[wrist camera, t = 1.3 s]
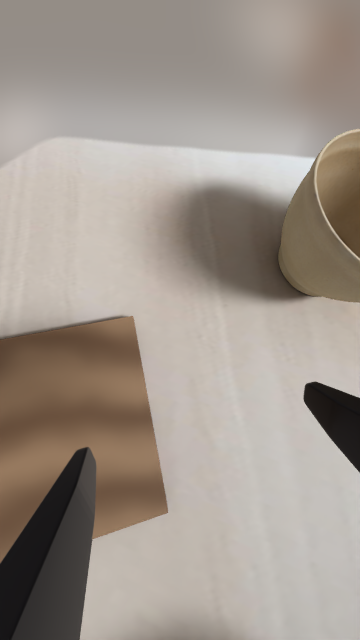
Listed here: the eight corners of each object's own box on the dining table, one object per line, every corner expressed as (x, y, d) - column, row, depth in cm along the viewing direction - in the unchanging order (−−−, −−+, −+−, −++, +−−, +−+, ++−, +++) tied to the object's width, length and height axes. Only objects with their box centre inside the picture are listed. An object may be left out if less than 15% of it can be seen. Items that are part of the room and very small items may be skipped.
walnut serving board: (167, 504, 19) (168, 512, 18) (-3, 562, 17) (-15, 576, 16) (133, 318, 23) (132, 316, 22) (-9, 344, 21) (-18, 342, 20)
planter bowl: (234, 285, 26) (289, 226, 15) (276, 195, 30) (341, 102, 20) (350, 346, 26) (484, 327, 15) (375, 247, 30) (492, 180, 20)
